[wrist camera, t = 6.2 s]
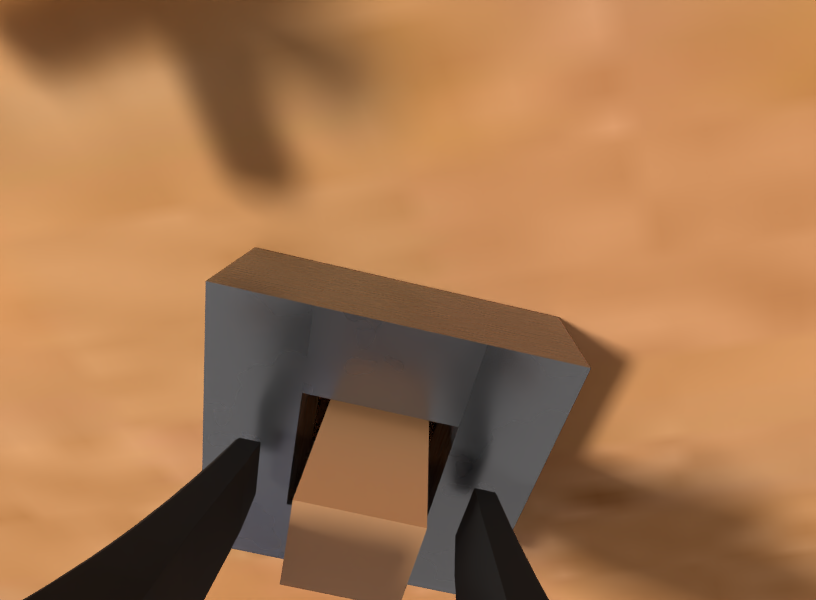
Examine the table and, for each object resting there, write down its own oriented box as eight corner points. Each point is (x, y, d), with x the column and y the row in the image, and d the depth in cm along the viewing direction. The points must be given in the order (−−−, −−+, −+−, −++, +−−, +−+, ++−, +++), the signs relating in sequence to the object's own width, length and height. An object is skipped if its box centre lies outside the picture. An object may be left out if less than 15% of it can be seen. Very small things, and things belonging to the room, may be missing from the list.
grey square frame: (472, 523, 17) (479, 599, 14) (239, 473, 17) (201, 542, 14) (558, 317, 13) (590, 368, 10) (254, 247, 13) (205, 281, 10)
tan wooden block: (411, 438, 16) (398, 608, 10) (334, 421, 16) (279, 584, 10) (429, 374, 14) (427, 528, 9) (347, 355, 14) (292, 499, 9)
